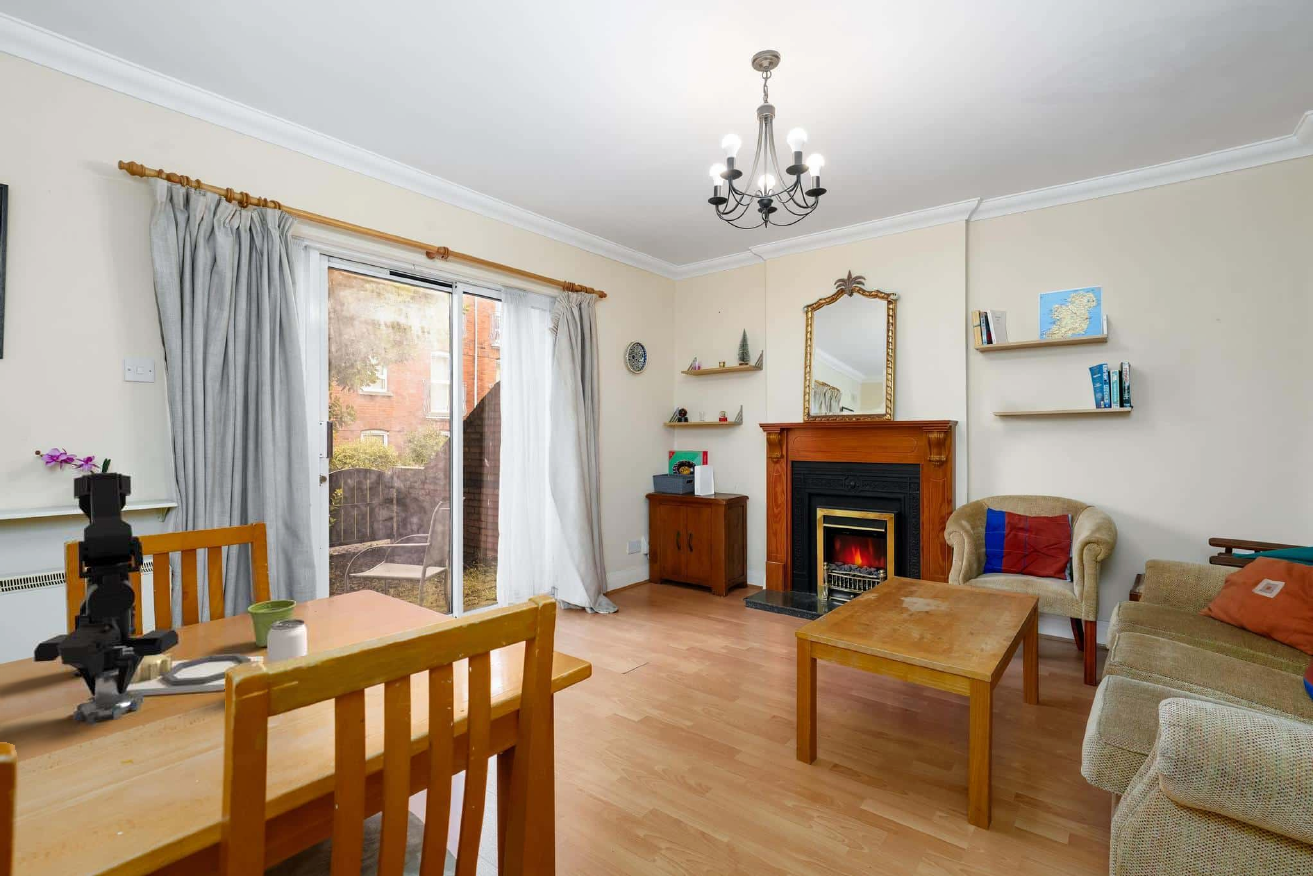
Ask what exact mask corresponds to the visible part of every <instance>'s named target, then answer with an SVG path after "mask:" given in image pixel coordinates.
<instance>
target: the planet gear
mask: <svg viewBox="0 0 1313 876" xmlns="http://www.w3.org/2000/svg"><path fill="white" fill-rule="evenodd" d="M142 703H144V695H143V694H142V693H138V694H135V695H134V694H130V691H128V692H124V693H123V694H119V690H118V669H117V670H112V671H106V672H103V673H100V674H98V675H96V676H95V696H94V700H91V701H89V702H84V703H83V702H81V703H80V704H78V705H77V706H76V710H74V711H73V713H72V714H73V716H72V719H73V723H77V722H81V721H85V722H86V724H87V725H90V724H96V722H98V721H100V722H101V721H104V720H105V721H106V720H109V719H113V720H117V719H120V718H122V716H124V715H125V714H128V713H130V712H135V711H136V712H137V711H138V710H140V709H141V707H142V706H141V705H142Z"/></svg>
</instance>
